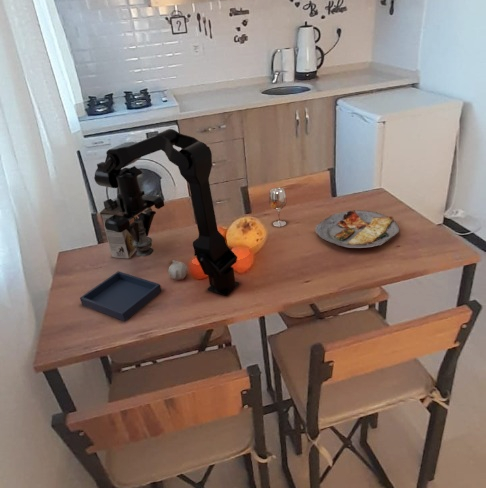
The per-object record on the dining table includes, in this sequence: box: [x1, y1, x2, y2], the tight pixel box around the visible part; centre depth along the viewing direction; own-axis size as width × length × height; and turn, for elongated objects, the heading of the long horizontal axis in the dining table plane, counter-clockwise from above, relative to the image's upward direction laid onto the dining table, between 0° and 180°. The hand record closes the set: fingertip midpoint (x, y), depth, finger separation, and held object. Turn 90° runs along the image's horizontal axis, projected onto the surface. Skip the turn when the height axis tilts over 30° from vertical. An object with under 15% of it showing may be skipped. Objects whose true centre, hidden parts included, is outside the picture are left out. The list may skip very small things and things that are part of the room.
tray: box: [79, 270, 163, 322], centre depth 128 cm, size 16×14×2 cm
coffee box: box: [99, 207, 137, 259], centre depth 148 cm, size 9×6×16 cm
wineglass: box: [268, 187, 288, 228], centre depth 154 cm, size 6×6×12 cm
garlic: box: [168, 260, 189, 280], centre depth 134 cm, size 6×5×5 cm
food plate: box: [314, 209, 400, 249], centre depth 145 cm, size 25×23×4 cm
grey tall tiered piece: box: [133, 216, 155, 258], centre depth 137 cm, size 6×6×12 cm
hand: (141, 238), depth 138 cm, fingers closed on grey tall tiered piece, 3 cm apart
